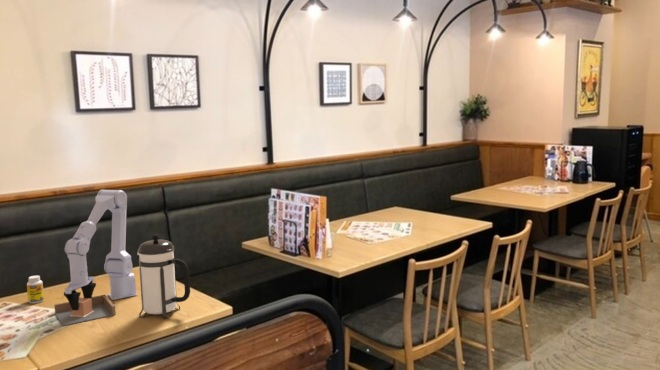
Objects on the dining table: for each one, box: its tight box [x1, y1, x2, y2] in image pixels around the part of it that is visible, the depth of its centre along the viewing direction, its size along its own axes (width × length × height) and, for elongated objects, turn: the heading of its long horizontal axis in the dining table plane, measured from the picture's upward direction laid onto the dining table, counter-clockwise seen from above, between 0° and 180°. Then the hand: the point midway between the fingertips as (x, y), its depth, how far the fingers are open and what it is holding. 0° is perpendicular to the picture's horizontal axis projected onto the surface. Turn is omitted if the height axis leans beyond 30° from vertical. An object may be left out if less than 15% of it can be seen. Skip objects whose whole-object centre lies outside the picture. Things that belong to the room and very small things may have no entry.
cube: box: [71, 297, 92, 316], centre depth 202 cm, size 5×5×5 cm
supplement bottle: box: [26, 275, 45, 304], centre depth 216 cm, size 6×6×10 cm
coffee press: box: [137, 233, 191, 320], centre depth 201 cm, size 17×16×30 cm
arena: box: [54, 294, 117, 327], centre depth 202 cm, size 18×16×3 cm
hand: (81, 306), depth 202 cm, fingers open, 7 cm apart
